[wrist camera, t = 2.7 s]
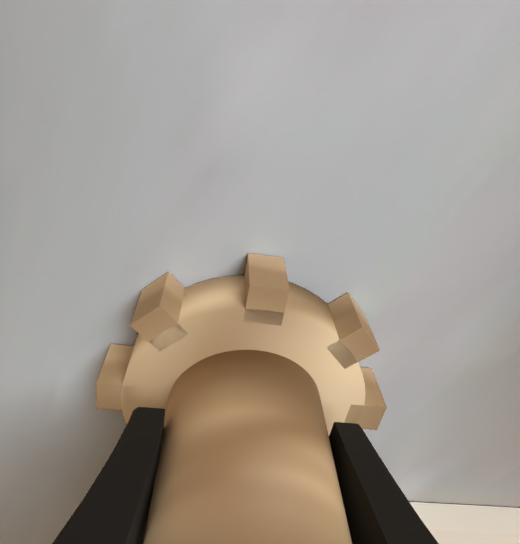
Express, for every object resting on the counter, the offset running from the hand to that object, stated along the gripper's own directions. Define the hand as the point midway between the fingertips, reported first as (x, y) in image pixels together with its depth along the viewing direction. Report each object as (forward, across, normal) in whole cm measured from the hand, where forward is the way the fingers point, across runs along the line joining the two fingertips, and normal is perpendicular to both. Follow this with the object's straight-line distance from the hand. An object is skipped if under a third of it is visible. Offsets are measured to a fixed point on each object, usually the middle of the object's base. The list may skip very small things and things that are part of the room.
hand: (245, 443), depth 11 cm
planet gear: (+3, 0, 0) cm, 3 cm away
